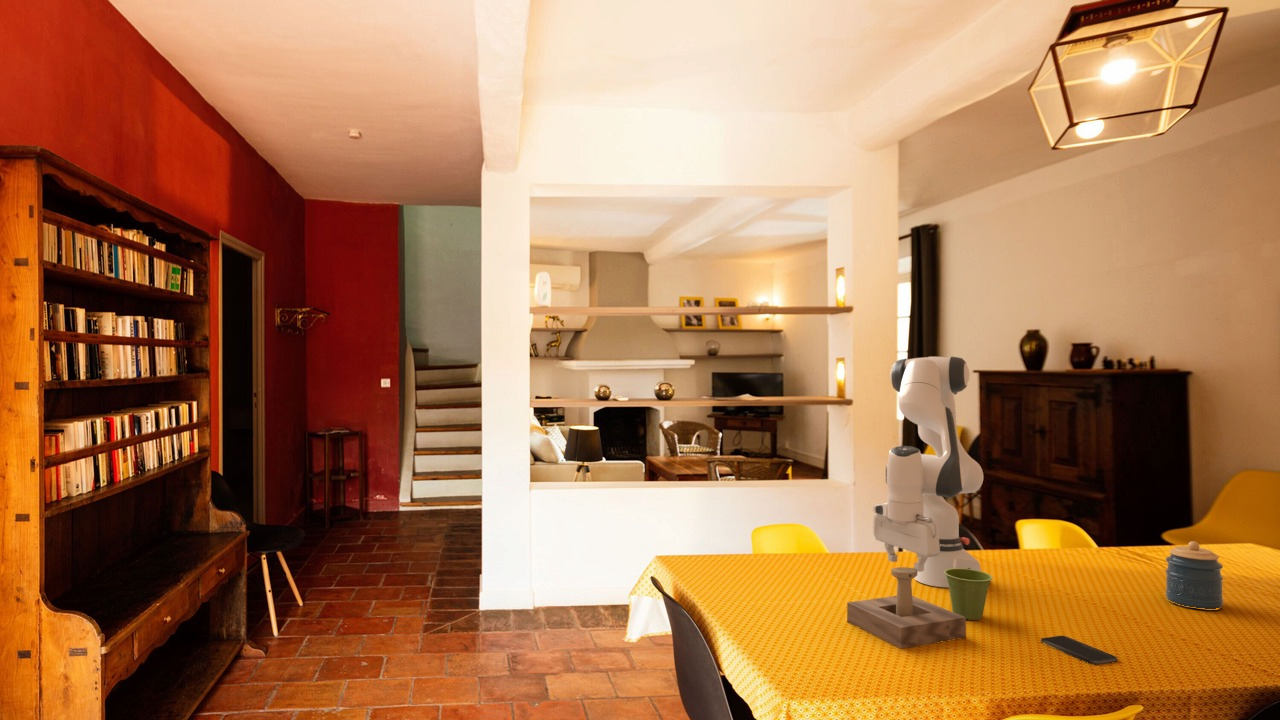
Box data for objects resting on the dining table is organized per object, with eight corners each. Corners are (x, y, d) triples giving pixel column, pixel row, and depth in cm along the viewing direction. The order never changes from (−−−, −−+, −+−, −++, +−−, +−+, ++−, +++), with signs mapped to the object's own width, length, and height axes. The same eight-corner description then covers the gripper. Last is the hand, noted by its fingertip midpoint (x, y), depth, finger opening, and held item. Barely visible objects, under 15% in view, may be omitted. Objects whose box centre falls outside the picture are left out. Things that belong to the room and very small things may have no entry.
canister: (1225, 604, 209) (1225, 541, 209) (1220, 615, 200) (1220, 549, 200) (1169, 594, 218) (1169, 534, 218) (1162, 604, 208) (1161, 541, 209)
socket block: (908, 612, 200) (908, 594, 200) (965, 637, 182) (965, 617, 182) (847, 621, 193) (847, 602, 193) (900, 649, 174) (900, 627, 174)
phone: (1093, 662, 165) (1038, 638, 179) (1093, 667, 165) (1038, 643, 179) (1120, 658, 167) (1063, 635, 182) (1120, 663, 167) (1063, 639, 182)
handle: (921, 631, 186) (921, 571, 186) (899, 634, 184) (899, 573, 184) (909, 625, 190) (909, 566, 191) (887, 627, 189) (887, 568, 189)
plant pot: (972, 626, 190) (972, 582, 190) (934, 613, 200) (934, 571, 200) (1002, 619, 195) (1002, 576, 195) (964, 606, 205) (964, 566, 206)
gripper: (945, 518, 179) (946, 575, 179) (888, 503, 198) (888, 554, 198) (925, 520, 177) (925, 578, 177) (868, 505, 196) (869, 557, 196)
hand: (905, 565), depth 187 cm, fingers open, 8 cm apart
